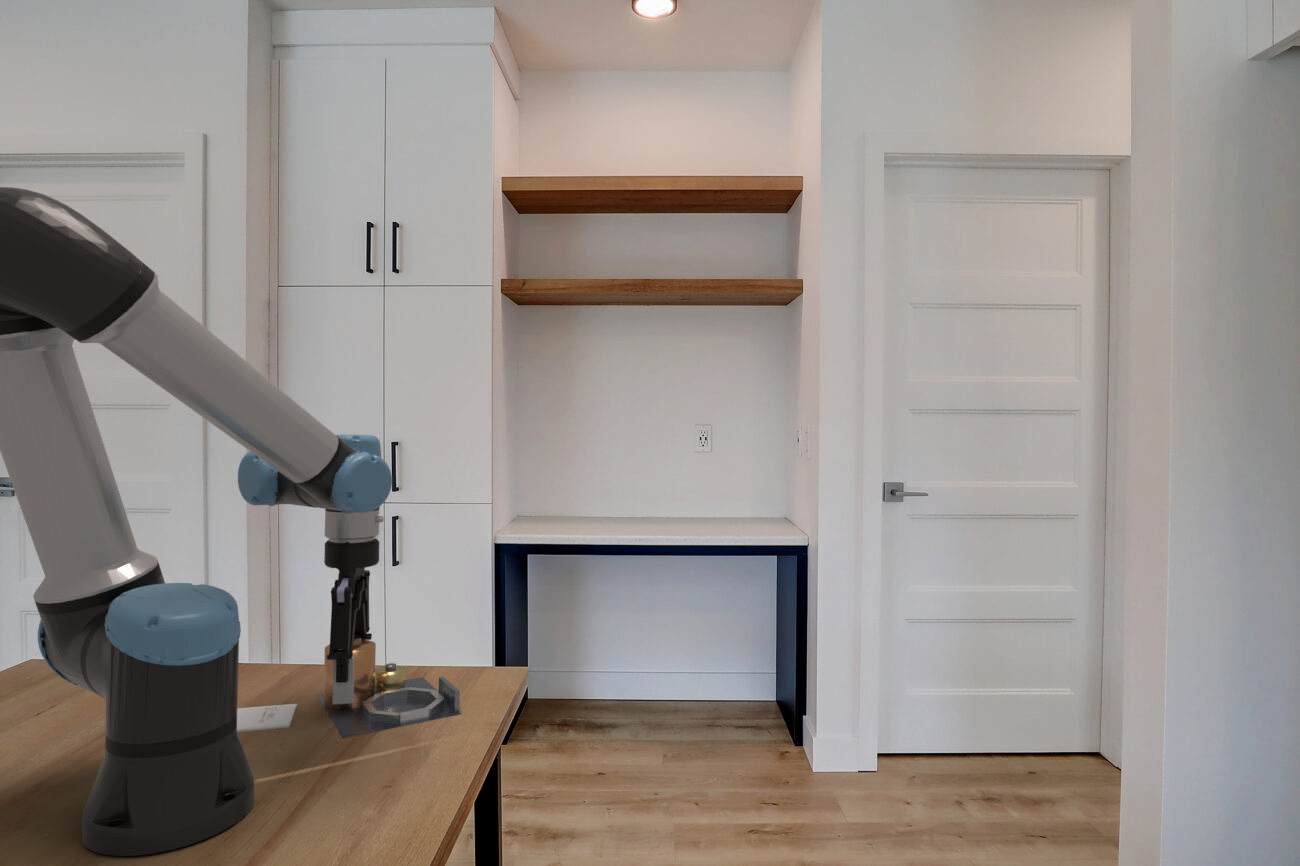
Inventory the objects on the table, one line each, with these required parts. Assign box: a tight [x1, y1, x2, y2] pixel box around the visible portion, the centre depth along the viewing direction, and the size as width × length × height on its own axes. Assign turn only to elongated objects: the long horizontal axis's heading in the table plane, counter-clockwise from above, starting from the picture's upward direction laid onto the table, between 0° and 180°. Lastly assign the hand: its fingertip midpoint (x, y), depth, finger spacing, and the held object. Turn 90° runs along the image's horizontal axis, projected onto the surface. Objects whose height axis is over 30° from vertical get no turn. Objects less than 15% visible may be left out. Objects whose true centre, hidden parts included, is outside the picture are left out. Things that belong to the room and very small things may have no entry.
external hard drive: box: [237, 703, 299, 733], centre depth 102 cm, size 2×8×12 cm
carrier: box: [316, 662, 463, 739], centre depth 109 cm, size 18×16×4 cm
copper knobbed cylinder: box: [323, 637, 377, 709], centre depth 110 cm, size 7×7×9 cm
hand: (349, 693), depth 110 cm, fingers closed on copper knobbed cylinder, 7 cm apart
